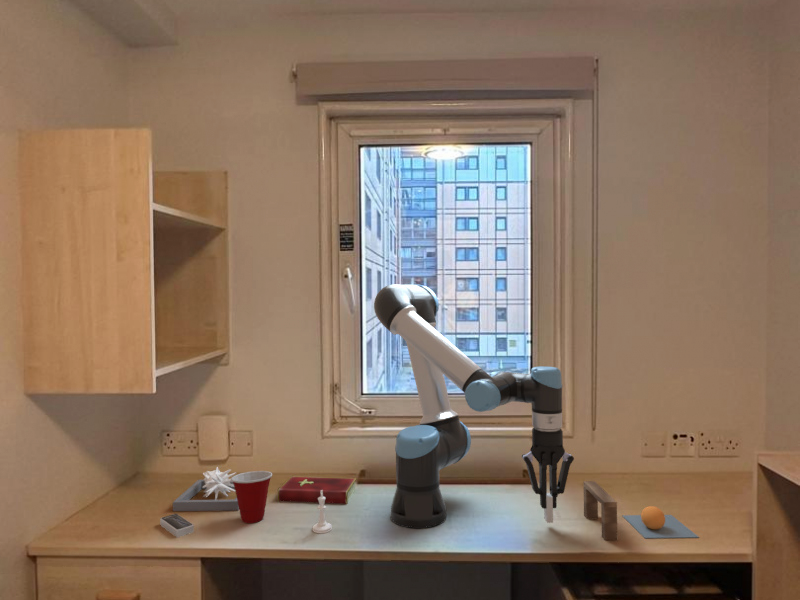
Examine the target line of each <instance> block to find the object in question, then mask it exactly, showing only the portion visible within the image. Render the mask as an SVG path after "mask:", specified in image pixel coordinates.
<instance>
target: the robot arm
mask: <svg viewBox="0 0 800 600" xmlns="http://www.w3.org/2000/svg"><path fill="white" fill-rule="evenodd" d="M439 307H440V306H439V299H438V296H437V295H436V293H435V292H434V291H433V290H432V289H431V288H429V287H428V286H426V285H425V286H424V285H421V284H417V283H416V284H415V283H413V284H399V283H398V284H397V283H394V284H393V283H392V284H388V285H386V286H384V287H383V288H381V289H380V290H379V291H378V293H377V294H376V295H375V297H374V302H373V310H374V313H375V317H376V318H377V319H378V321H379V322H380V324H381V325H383V327H384V328H385V329H387V330H388V332H390V333H391V334H392V335H395V336H396V335H399V336H400V337H401V338H402V339H404V340H405V343H406V346H407V349H408V355H409V359H410V363H411V369H412V373H413V377H414V381H415V385H416V390H417V394H418V399H419V402H420V403H419V404H420V408H421V411H422V412H421V413H422V418H420V419H421V420H420V421H419V424H417V425H414V426H413V425H412V426H408V427H405V428H402V429H401V430H400V431H399V432H398V434H397V435H396V438H395V446H394V447H395V464H396V465H395V468H396V469H395V471H396V488H395V492H394V496H393V498H392V503H391V505H390V519H391V521H392V522H393V523H395V524H397V525H398V526H400V527H406V528H412V529H423V528H432V527H436V526H438V525H440V524H442V523H444V522H445V521H446V519H447V507H446V504H445V503H446V502H445V500H444V497H443V493H442V492H441V488H440V470H442V469H444V468H447V467H449V466H451V465H453V464H454V465H455V464H456V463H458V462H460V461H461V460H462V459H464V458H465V457H466V455H468V453H469V451H470V449H471V445H472V437H471V436H472V435H471V432H470V430H469V428H468V427H467V425H465V424H464V422H462V421H461V420H460V417H459V414H458V413H457V412H456V411H455V410H453V409H452V405H451V403H450V397H449V393H448V388H447V385H446V381H445V377H446V378H447V379H448V380H450V381H451V382H452V383H453V384H454V385H455V386H456V387H457V388H458V389H460V391H462V392H463V393H464V398H465V401H466V404H467V405H468V407H469V408H470V409H472V410H473V411H475V412H479V413H482V412H488V411H489V412H490V411H492V410H494V409H496V408H498V407H500V406H504V405H506V404H510V403H511V402H512V403H513V402H515V403H516V402H517V403H526V404H529V403H530V404H531V426H532V429H531V447H530V450H529V452H528V453H527V452H526V454H525V453H523V454H522V455H521V458H522V459H523V461H524V463H525V465H526V469H527V472H528V476H529V481H530V484H531V488H532V490H533V492H534V493H535V494H536V495H539V500H540V501H539V505H540V506H541V509H543V515H544V516H543V519H544V520H545V522H546V523H547V524H548V523H549V524H550V523H551V524H552V523H554V509H557V503H558V502H557V497H558V496H559V494H561V495H562V494H564V493H565V489H566V485H567V482H568V481H567V480H568V475H569V471H570V466H571V465H572V463H573V462H574V460H575V458H574V456H573V455H572V454H571V453H567V452H566V449H565V448H564V446H563V445H564V444H563V443H564V438H563V432H564V431H563V430H562V428H563V382H562V381H563V380H562V372H561V370H560V369H559V368H558V367H555V366H534V367H532V368H531V370H530V373H519V372H508V371H505V370H504V371H503V370H502V371H492V372H490V373H487V372H486V371H485V370H484V369H482V367H480V366H479V365H478V364H477V363H476V362H475V361H473V360H472V359H471V358H470V357H468V356H467V355H466V354H465V353H464V352H462V351H461V349H460V348H458V347H456V346H455V344H453V343H452V342H451V341H450V340H448V339H447V338H446V337H445V335H443V334H441V333H440V332H439V331H438V330H437V329H435V328H436V326H437V321H436V316H437V315H438V312H439ZM533 459H535V461H537V463H538V467H539V468H538V469H539V471H538V472H539V474H538V475H539V476H538V477H539V478H538V480H539V484H538V481H537V476H536V473H535V468H534V464H533V461H534V460H533ZM560 460H562V462H561V466H560V470H559V474H558V471H557V469H558V464H559V462H560ZM547 470H548V471H549V472H548V473H549V474H547ZM557 474H558V477H557ZM547 475H549V477H548V480H547ZM547 481H549V492H548V490H547V485H548V484H547Z"/></svg>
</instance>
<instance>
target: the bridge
mask: <svg viewBox="0 0 800 600" xmlns="http://www.w3.org/2000/svg"><path fill="white" fill-rule="evenodd" d="M598 502H599V503H600V505H601V506H600V507H601V510H600V511H601V538H602V539H603V540H604V541H618V501H616V500H615V499H614V498H613V497H612V496H611V495H610V494H609V493H608V492H607V491H606V490H604V489H603V487H602V486H601V485H599V483H597V482H596V481H595V480H589V481H588V480H586V481H585V480H583V516H584V518H586V519H589V520H591V519H599V507H598V506H599V503H598Z"/></svg>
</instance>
